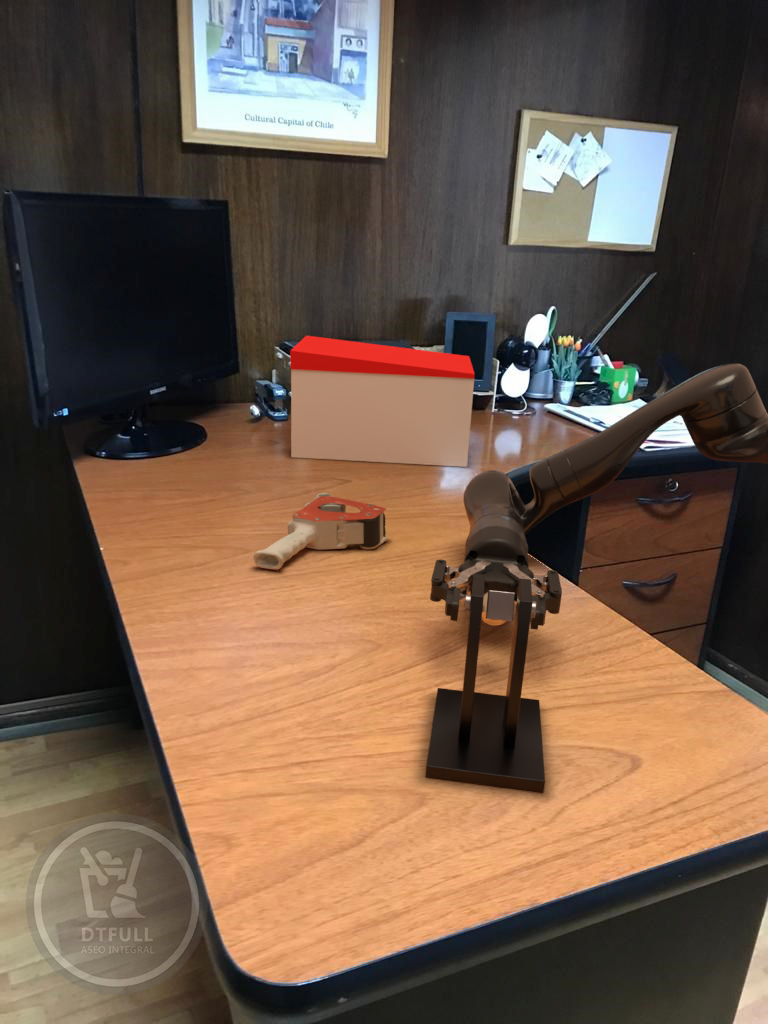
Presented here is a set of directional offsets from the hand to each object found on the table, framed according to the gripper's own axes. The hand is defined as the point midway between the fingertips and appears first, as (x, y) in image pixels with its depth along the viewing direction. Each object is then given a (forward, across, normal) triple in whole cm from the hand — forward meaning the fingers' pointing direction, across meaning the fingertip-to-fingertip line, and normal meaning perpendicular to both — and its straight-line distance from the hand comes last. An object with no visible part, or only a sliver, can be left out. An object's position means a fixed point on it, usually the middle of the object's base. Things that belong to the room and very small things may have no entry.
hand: (494, 617), depth 78 cm
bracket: (+10, 0, -7) cm, 13 cm away
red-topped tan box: (-84, +24, -8) cm, 87 cm away
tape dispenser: (-31, +25, -8) cm, 40 cm away
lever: (+5, 0, +2) cm, 5 cm away
